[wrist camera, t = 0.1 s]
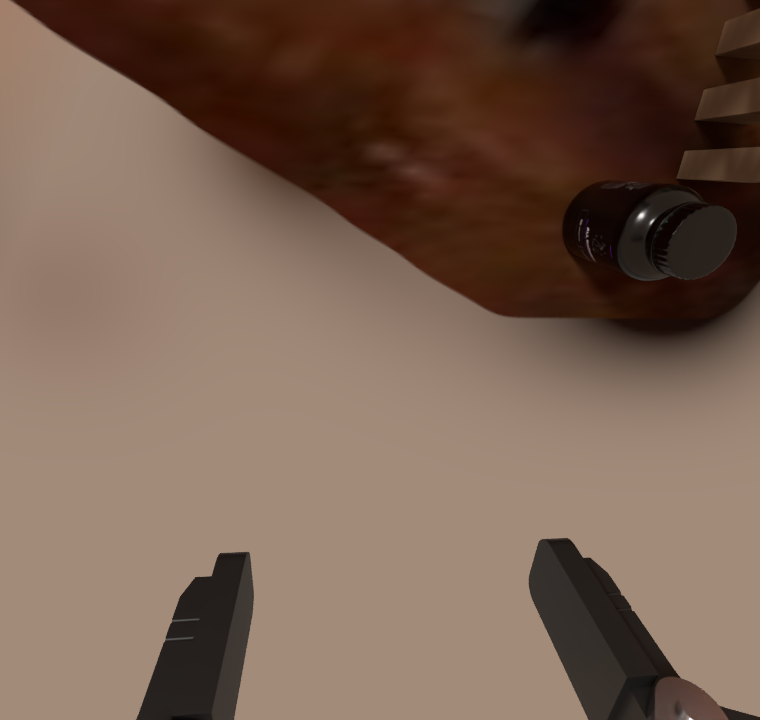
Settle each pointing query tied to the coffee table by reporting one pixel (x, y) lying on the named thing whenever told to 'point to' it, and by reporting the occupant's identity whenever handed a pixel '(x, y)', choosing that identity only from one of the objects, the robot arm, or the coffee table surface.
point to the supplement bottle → (648, 230)
